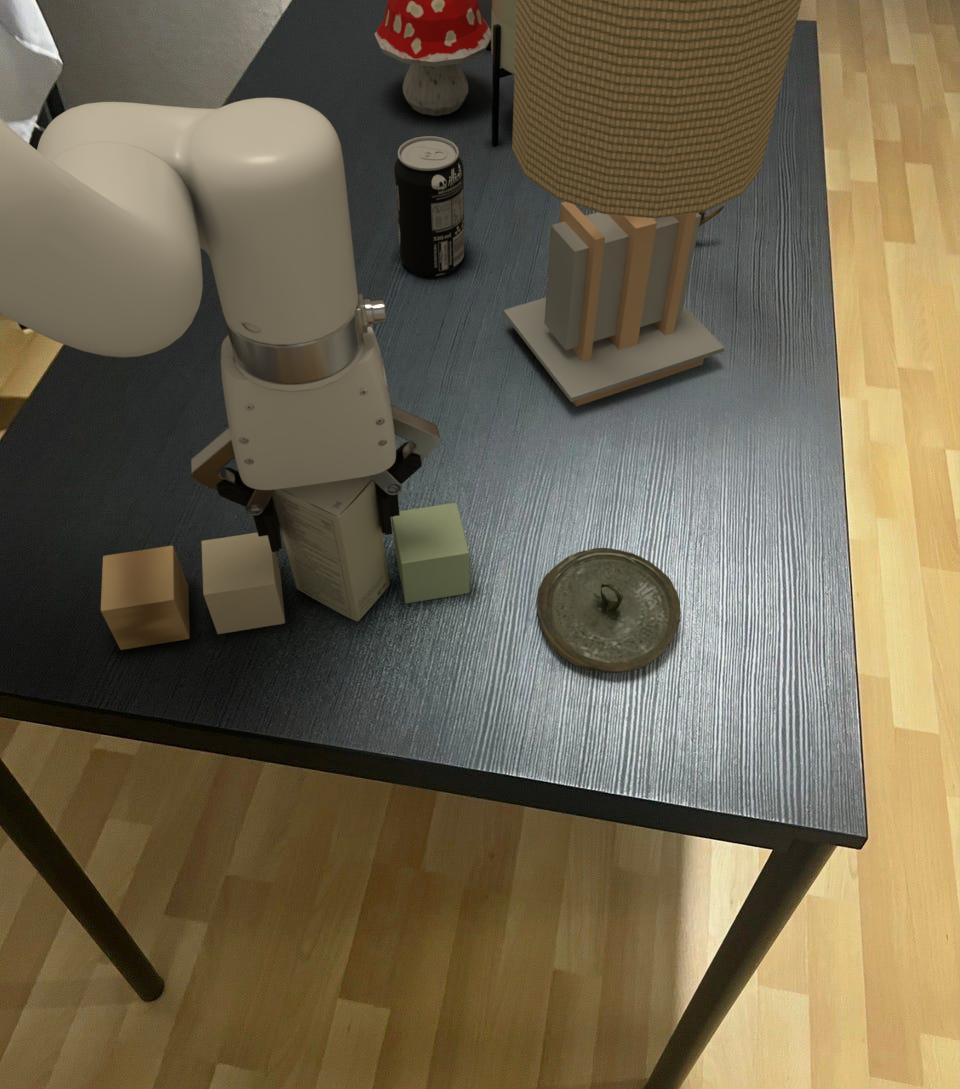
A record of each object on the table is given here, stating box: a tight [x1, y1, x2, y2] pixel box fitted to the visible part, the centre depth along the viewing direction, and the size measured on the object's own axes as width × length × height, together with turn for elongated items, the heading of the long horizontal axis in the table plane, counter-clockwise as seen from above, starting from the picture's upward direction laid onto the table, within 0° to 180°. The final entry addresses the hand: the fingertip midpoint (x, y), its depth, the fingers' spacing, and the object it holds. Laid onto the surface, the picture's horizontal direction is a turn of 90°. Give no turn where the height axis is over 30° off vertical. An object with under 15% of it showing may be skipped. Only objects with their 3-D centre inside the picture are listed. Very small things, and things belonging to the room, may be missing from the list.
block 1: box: [100, 545, 191, 651], centre depth 73 cm, size 5×5×5 cm
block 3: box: [391, 502, 471, 604], centre depth 75 cm, size 5×5×5 cm
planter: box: [490, 0, 517, 147], centre depth 110 cm, size 15×16×23 cm
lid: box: [535, 547, 682, 674], centre depth 73 cm, size 11×10×5 cm
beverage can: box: [393, 135, 465, 277], centre depth 98 cm, size 7×7×12 cm
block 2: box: [200, 532, 286, 635], centre depth 73 cm, size 5×5×5 cm
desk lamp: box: [502, 0, 802, 407], centre depth 80 cm, size 20×20×35 cm
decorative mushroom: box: [374, 0, 491, 117], centre depth 117 cm, size 14×14×15 cm
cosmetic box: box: [272, 476, 390, 622], centre depth 72 cm, size 6×4×12 cm
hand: (330, 527), depth 71 cm, fingers closed on cosmetic box, 7 cm apart
